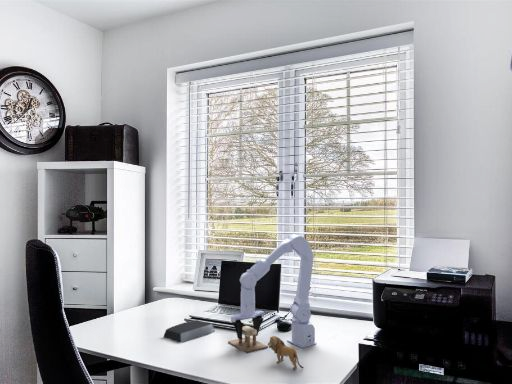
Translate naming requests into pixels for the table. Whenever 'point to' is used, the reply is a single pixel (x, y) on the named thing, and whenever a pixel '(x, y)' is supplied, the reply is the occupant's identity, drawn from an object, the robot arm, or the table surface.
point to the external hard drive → (188, 331)
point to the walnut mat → (247, 349)
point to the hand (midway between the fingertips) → (247, 336)
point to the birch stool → (249, 332)
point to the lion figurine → (283, 351)
